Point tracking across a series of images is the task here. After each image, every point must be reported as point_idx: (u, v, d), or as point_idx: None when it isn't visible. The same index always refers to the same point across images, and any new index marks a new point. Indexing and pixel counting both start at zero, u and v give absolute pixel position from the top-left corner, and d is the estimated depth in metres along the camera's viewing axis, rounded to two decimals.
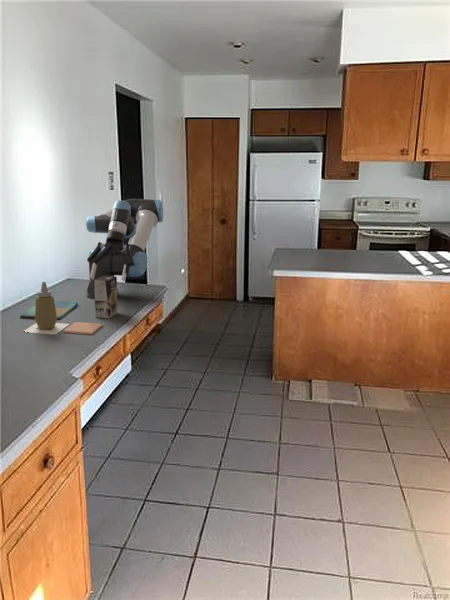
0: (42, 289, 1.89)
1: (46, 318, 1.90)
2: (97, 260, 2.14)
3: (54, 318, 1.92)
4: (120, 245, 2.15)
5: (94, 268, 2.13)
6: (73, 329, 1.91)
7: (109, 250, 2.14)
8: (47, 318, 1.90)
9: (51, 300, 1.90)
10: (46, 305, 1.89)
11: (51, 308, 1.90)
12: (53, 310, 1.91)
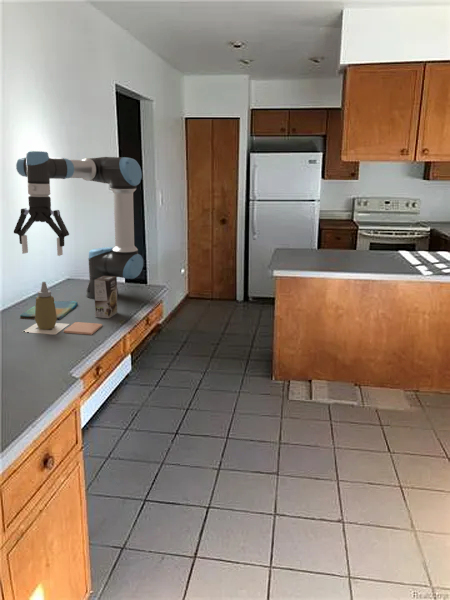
0: (42, 289, 1.89)
1: (46, 318, 1.90)
2: (25, 230, 1.85)
3: (54, 318, 1.92)
4: (47, 212, 1.81)
5: (25, 241, 1.86)
6: (73, 329, 1.91)
7: (36, 219, 1.83)
8: (47, 318, 1.90)
9: (51, 300, 1.90)
10: (46, 305, 1.89)
11: (51, 308, 1.90)
12: (53, 310, 1.91)
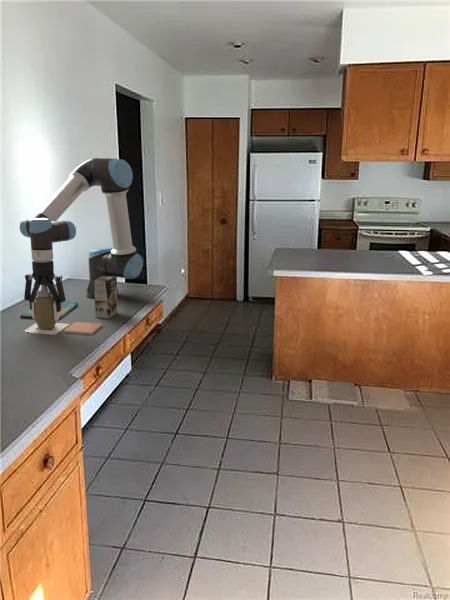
0: (42, 289, 1.89)
1: (46, 318, 1.90)
2: (34, 296, 1.92)
3: None
4: (50, 276, 1.88)
5: (35, 307, 1.92)
6: (73, 329, 1.91)
7: (39, 282, 1.89)
8: (47, 318, 1.90)
9: (51, 300, 1.90)
10: (46, 305, 1.89)
11: (51, 308, 1.90)
12: (53, 310, 1.91)
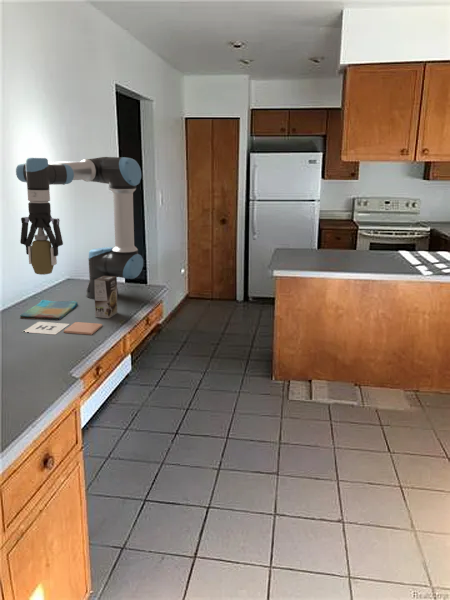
0: (39, 232, 1.84)
1: (43, 262, 1.84)
2: (31, 240, 1.86)
3: None
4: (46, 218, 1.82)
5: (31, 251, 1.87)
6: (73, 329, 1.91)
7: (35, 225, 1.83)
8: (44, 262, 1.84)
9: (48, 244, 1.84)
10: (43, 248, 1.83)
11: (48, 252, 1.85)
12: (50, 254, 1.86)
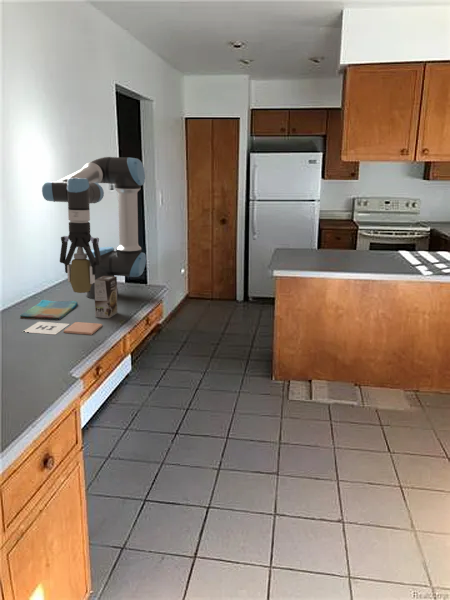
0: (78, 251, 1.86)
1: (82, 280, 1.86)
2: (70, 258, 1.88)
3: None
4: (86, 238, 1.84)
5: (70, 270, 1.89)
6: (73, 329, 1.91)
7: (75, 244, 1.85)
8: (83, 281, 1.86)
9: (87, 262, 1.86)
10: (82, 267, 1.85)
11: (87, 270, 1.87)
12: (89, 273, 1.87)
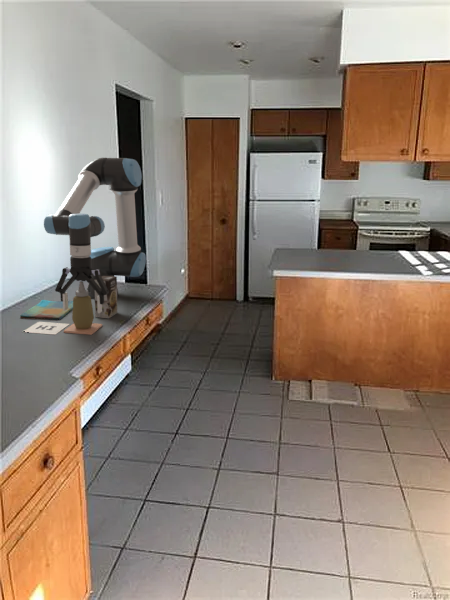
0: (80, 289, 1.89)
1: (84, 317, 1.90)
2: (66, 288, 1.91)
3: (91, 317, 1.92)
4: (88, 272, 1.87)
5: (65, 299, 1.92)
6: (73, 329, 1.91)
7: (77, 278, 1.89)
8: (85, 317, 1.90)
9: (88, 300, 1.90)
10: (84, 305, 1.89)
11: (89, 307, 1.90)
12: (90, 310, 1.91)
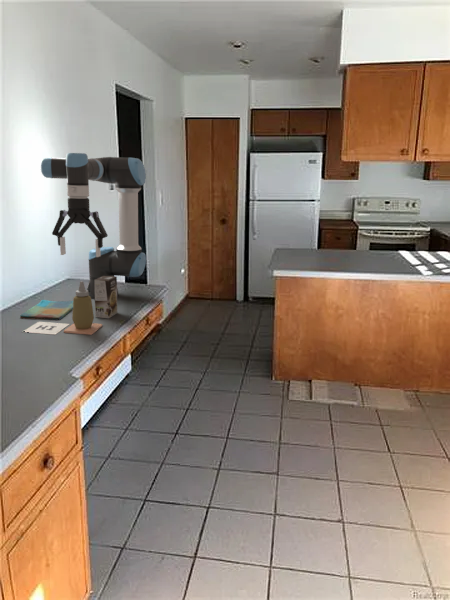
0: (80, 289, 1.89)
1: (84, 317, 1.90)
2: (64, 232, 1.86)
3: (91, 318, 1.92)
4: (86, 214, 1.82)
5: (63, 243, 1.87)
6: (73, 329, 1.91)
7: (74, 221, 1.83)
8: (85, 317, 1.90)
9: (89, 300, 1.90)
10: (84, 304, 1.89)
11: (89, 307, 1.91)
12: (90, 310, 1.91)
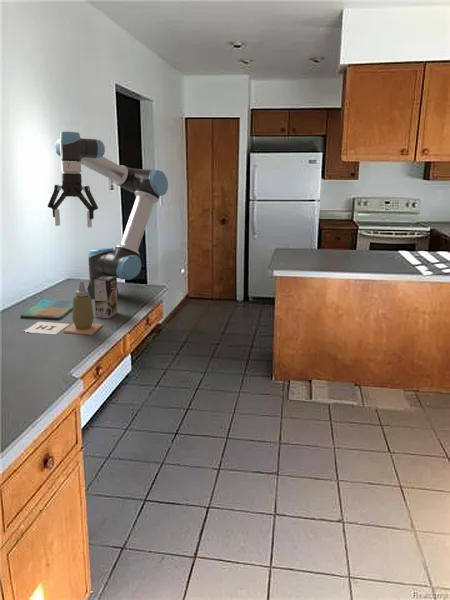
0: (80, 289, 1.89)
1: (84, 317, 1.90)
2: (58, 205, 2.04)
3: (91, 318, 1.92)
4: (78, 188, 2.00)
5: (57, 215, 2.05)
6: (73, 329, 1.91)
7: (68, 194, 2.01)
8: (85, 317, 1.90)
9: (89, 300, 1.90)
10: (84, 304, 1.89)
11: (89, 307, 1.91)
12: (90, 310, 1.91)
